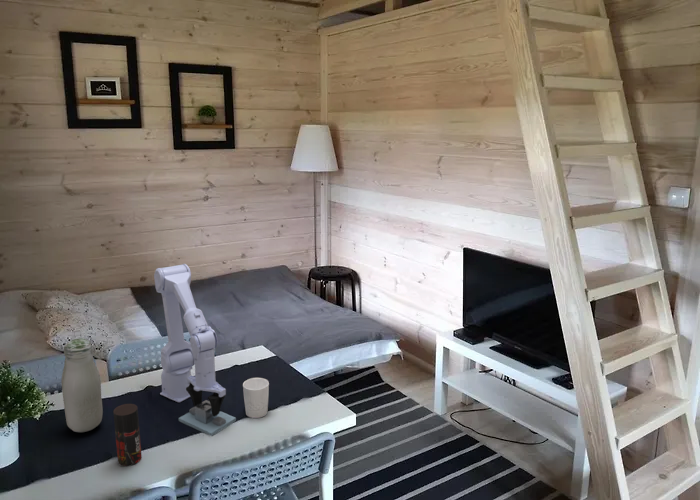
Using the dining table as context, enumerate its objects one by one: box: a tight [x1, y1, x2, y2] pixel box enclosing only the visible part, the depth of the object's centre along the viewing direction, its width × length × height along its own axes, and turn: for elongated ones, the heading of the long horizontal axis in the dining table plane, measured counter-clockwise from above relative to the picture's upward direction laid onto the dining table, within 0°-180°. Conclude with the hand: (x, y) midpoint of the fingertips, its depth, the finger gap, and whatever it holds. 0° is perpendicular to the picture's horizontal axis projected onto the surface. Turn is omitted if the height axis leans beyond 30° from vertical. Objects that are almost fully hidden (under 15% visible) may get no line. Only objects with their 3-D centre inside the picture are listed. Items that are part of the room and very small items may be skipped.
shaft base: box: [178, 405, 237, 437], centre depth 167 cm, size 14×10×5 cm
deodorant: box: [112, 403, 143, 467], centre depth 147 cm, size 6×6×15 cm
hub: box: [195, 399, 217, 424], centre depth 166 cm, size 5×5×4 cm
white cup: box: [242, 377, 270, 419], centre depth 171 cm, size 8×8×10 cm
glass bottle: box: [61, 337, 104, 433], centre depth 159 cm, size 10×10×28 cm
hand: (207, 410), depth 167 cm, fingers open, 7 cm apart
